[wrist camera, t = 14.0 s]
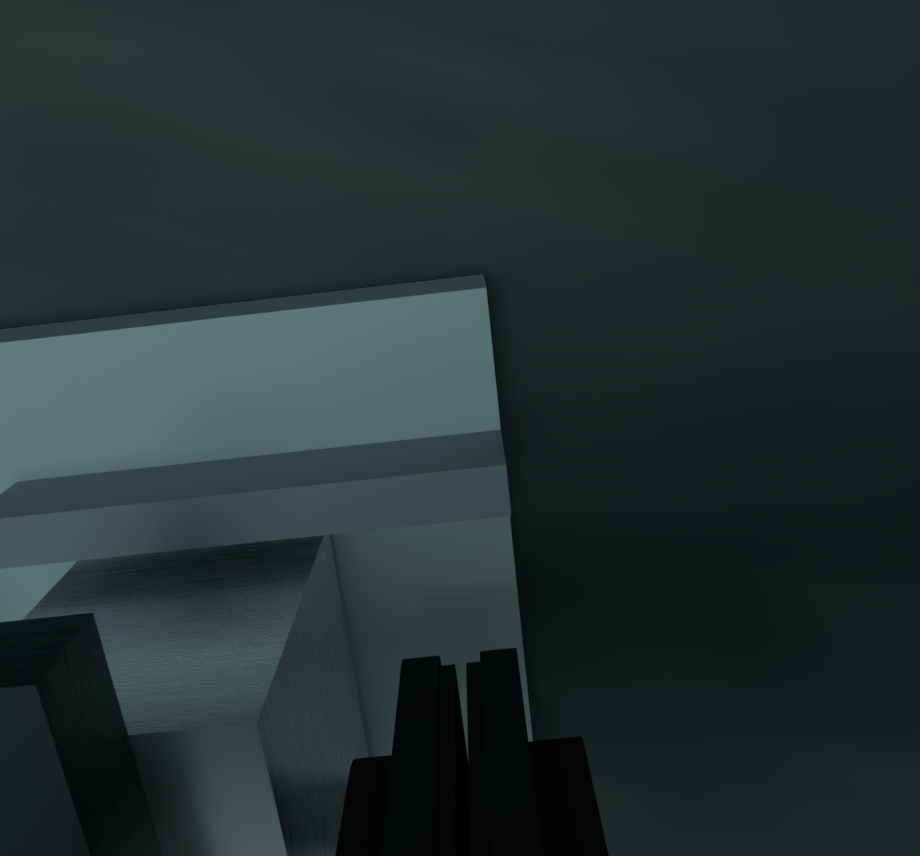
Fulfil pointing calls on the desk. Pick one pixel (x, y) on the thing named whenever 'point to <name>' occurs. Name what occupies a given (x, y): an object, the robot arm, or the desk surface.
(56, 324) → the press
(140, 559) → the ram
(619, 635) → the desk surface
